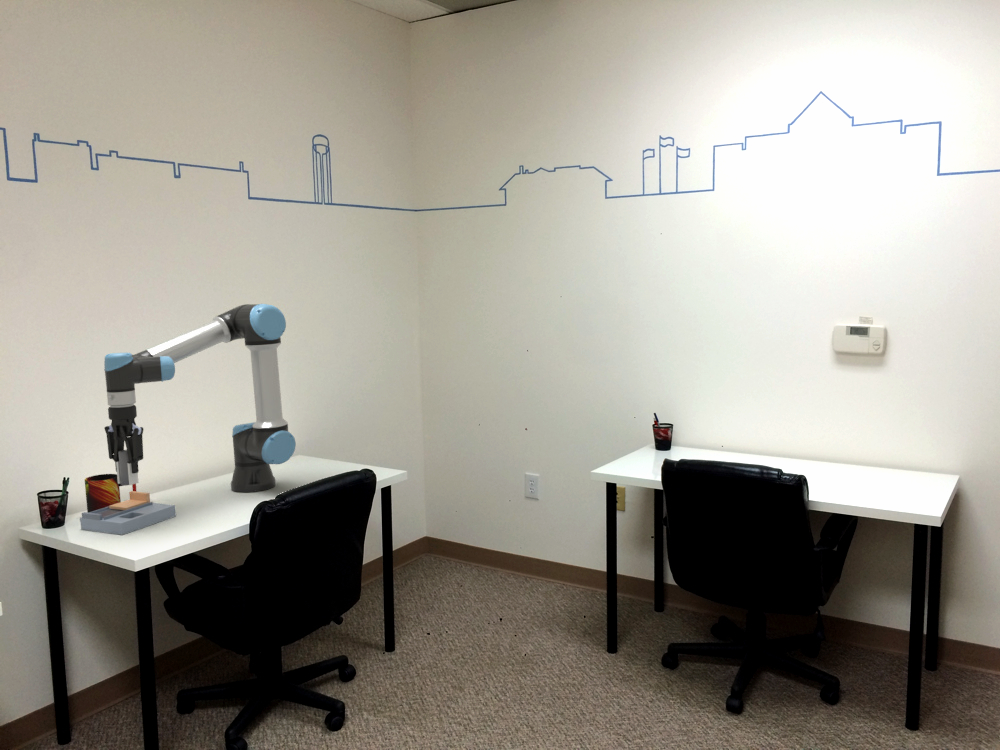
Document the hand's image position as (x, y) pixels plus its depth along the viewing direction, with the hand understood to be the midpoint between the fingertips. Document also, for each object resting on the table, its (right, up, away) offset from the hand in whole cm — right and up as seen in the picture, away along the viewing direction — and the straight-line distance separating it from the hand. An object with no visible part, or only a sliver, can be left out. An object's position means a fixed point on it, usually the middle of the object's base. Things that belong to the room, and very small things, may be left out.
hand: (128, 483), depth 237 cm
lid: (-5, -8, +11) cm, 15 cm away
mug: (-14, -12, +18) cm, 26 cm away
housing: (-2, -13, +6) cm, 15 cm away
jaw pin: (0, 0, 0) cm, 0 cm away
